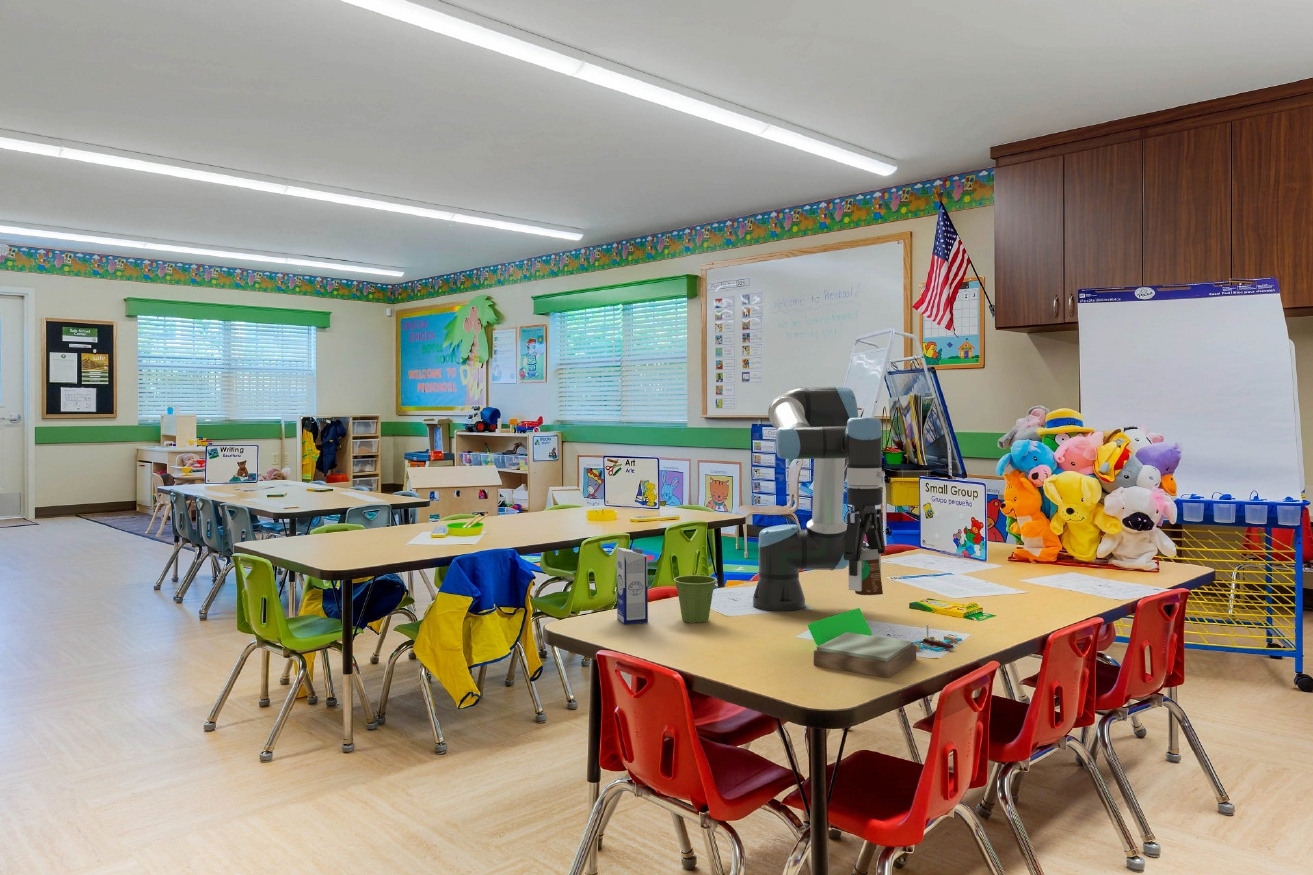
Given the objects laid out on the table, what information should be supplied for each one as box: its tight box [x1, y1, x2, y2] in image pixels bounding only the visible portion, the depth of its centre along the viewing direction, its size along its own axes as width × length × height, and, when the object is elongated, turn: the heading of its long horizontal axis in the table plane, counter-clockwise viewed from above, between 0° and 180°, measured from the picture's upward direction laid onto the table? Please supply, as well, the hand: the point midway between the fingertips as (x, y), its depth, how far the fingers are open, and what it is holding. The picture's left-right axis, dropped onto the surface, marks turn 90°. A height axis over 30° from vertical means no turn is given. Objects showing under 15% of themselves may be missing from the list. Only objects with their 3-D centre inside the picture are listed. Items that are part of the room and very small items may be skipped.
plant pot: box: [673, 574, 718, 624], centre depth 233 cm, size 12×12×11 cm
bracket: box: [806, 607, 874, 647], centre depth 209 cm, size 20×10×7 cm
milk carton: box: [616, 546, 649, 625], centre depth 234 cm, size 7×7×20 cm
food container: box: [854, 542, 884, 596], centre depth 191 cm, size 12×6×10 cm, turn 179°
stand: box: [813, 632, 917, 679], centre depth 191 cm, size 17×17×4 cm
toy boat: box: [912, 624, 963, 653], centre depth 204 cm, size 20×5×9 cm
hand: (865, 586), depth 191 cm, fingers closed on food container, 10 cm apart
